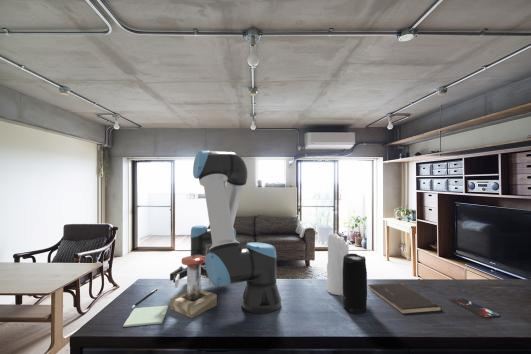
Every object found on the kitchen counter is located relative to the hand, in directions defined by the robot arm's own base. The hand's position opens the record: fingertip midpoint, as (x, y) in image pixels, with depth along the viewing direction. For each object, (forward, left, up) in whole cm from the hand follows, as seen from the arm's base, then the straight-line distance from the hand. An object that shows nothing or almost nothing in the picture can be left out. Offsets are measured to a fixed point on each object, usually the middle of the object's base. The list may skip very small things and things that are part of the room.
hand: (193, 282), depth 98 cm
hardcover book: (-61, -55, -11) cm, 83 cm away
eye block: (+3, -3, -10) cm, 11 cm away
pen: (+26, +3, -11) cm, 28 cm away
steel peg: (+3, -3, -10) cm, 11 cm away
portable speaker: (-48, -35, -11) cm, 60 cm away
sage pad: (+11, +11, -10) cm, 19 cm away
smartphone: (-84, -61, -11) cm, 104 cm away
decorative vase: (-37, -49, -11) cm, 62 cm away
